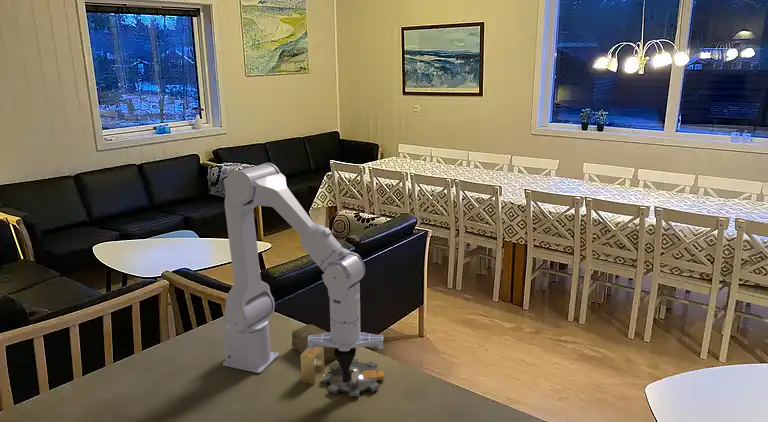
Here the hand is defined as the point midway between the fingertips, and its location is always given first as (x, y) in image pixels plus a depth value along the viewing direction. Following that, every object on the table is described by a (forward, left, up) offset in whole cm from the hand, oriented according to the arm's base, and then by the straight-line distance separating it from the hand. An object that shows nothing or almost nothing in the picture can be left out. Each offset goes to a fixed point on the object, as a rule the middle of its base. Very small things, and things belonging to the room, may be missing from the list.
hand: (346, 379), depth 107 cm
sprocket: (0, +4, -3) cm, 5 cm away
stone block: (-13, +12, -3) cm, 18 cm away
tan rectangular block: (-9, +3, -3) cm, 10 cm away
